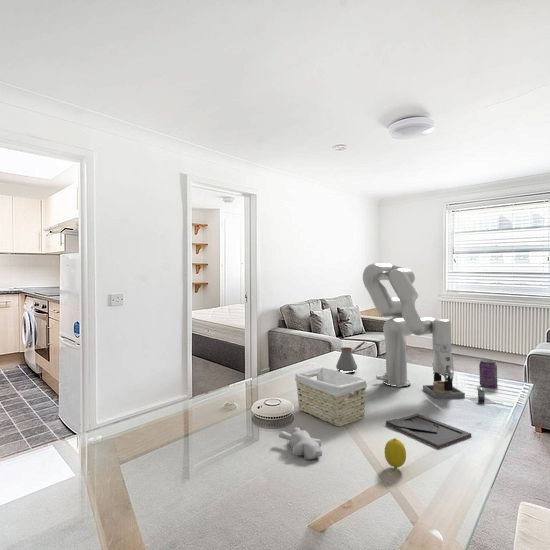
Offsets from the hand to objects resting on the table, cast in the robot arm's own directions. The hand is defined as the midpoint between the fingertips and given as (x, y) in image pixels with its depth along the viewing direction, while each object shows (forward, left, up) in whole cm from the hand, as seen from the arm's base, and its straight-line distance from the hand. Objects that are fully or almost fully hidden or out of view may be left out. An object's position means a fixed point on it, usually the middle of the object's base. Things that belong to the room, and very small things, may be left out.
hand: (442, 387), depth 161 cm
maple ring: (0, 0, -3) cm, 3 cm away
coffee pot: (-29, +46, -4) cm, 54 cm away
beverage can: (+26, +10, -3) cm, 28 cm away
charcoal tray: (0, 0, -3) cm, 3 cm away
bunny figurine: (-66, -48, -4) cm, 82 cm away
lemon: (-42, -60, -3) cm, 73 cm away
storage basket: (-52, -20, -4) cm, 56 cm away
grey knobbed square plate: (+11, -10, -3) cm, 15 cm away
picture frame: (-23, -37, -4) cm, 43 cm away
